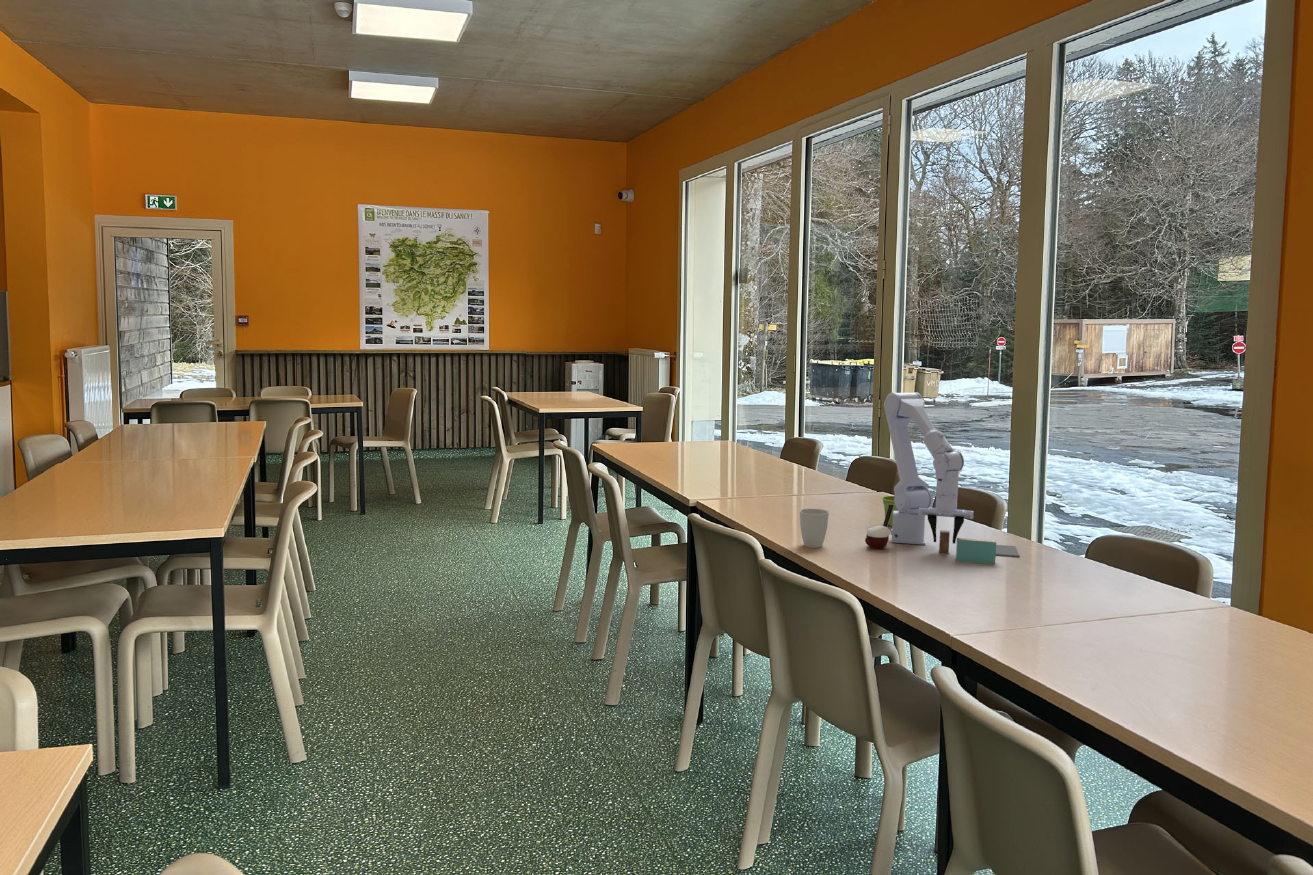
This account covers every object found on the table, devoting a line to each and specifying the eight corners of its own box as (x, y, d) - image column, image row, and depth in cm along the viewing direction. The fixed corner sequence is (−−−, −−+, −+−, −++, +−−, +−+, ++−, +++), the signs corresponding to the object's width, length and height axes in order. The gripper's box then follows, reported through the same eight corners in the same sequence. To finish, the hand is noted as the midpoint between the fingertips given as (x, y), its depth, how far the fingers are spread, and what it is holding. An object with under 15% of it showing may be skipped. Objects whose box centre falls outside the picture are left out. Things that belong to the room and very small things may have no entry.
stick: (939, 553, 265) (940, 531, 264) (939, 550, 267) (940, 530, 266) (948, 553, 264) (949, 532, 263) (948, 551, 267) (949, 530, 266)
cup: (826, 542, 275) (827, 509, 274) (828, 549, 267) (829, 514, 266) (798, 541, 276) (799, 508, 275) (799, 548, 268) (800, 513, 267)
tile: (956, 561, 256) (957, 539, 256) (955, 559, 258) (956, 537, 257) (995, 564, 254) (996, 542, 253) (994, 562, 256) (995, 540, 255)
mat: (973, 553, 264) (973, 552, 264) (971, 544, 276) (971, 542, 276) (1019, 557, 261) (1019, 555, 261) (1015, 547, 273) (1015, 546, 273)
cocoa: (866, 551, 267) (867, 510, 265) (859, 545, 273) (859, 505, 271) (899, 549, 268) (899, 508, 266) (890, 543, 274) (891, 503, 272)
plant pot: (908, 522, 305) (909, 496, 304) (913, 528, 296) (914, 501, 295) (878, 521, 306) (879, 495, 305) (882, 527, 297) (883, 500, 296)
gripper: (919, 495, 262) (917, 543, 263) (974, 498, 258) (972, 547, 260) (919, 490, 269) (917, 537, 270) (973, 494, 265) (971, 541, 266)
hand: (944, 542), depth 265 cm, fingers open, 4 cm apart
